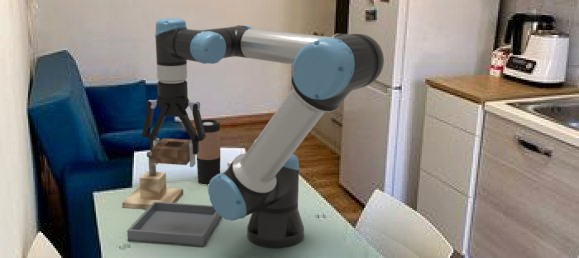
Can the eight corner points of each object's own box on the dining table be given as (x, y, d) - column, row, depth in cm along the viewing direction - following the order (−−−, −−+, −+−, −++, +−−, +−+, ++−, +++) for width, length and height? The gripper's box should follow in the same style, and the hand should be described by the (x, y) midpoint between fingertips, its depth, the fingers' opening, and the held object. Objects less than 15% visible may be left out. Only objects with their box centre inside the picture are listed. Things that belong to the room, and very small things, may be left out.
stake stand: (183, 193, 197) (181, 147, 193) (168, 210, 184) (167, 161, 180) (139, 190, 199) (137, 144, 195) (122, 207, 185) (119, 158, 182)
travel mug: (194, 184, 205) (192, 124, 200) (201, 176, 212) (200, 118, 207) (217, 186, 204) (216, 126, 198) (223, 178, 211) (222, 120, 206)
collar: (196, 154, 171) (195, 140, 170) (186, 165, 162) (185, 150, 161) (163, 152, 172) (163, 138, 171) (152, 162, 163) (151, 148, 162)
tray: (222, 216, 181) (221, 206, 180) (203, 247, 162) (202, 236, 161) (154, 211, 183) (153, 201, 182) (127, 241, 164) (127, 230, 163)
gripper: (217, 79, 164) (218, 162, 170) (136, 75, 167) (140, 157, 173) (210, 85, 157) (211, 171, 163) (125, 81, 159) (130, 166, 165)
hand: (174, 164), depth 168 cm, fingers closed on collar, 9 cm apart
